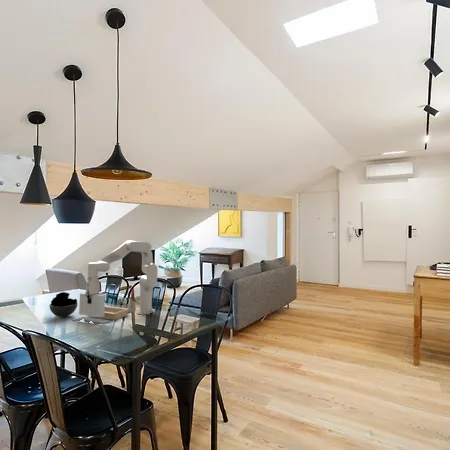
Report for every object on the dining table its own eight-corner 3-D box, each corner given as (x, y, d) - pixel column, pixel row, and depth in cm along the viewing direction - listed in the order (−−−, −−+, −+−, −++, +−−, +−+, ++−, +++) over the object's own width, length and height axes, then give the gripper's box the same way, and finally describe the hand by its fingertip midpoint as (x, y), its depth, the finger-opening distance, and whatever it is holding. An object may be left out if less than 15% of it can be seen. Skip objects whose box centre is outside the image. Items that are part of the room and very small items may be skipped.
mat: (111, 321, 253) (111, 320, 253) (101, 325, 243) (101, 324, 243) (83, 317, 263) (83, 316, 263) (72, 320, 253) (72, 320, 253)
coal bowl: (71, 312, 278) (72, 289, 279) (81, 317, 264) (81, 293, 264) (45, 316, 264) (46, 292, 265) (54, 321, 250) (54, 296, 250)
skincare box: (105, 316, 251) (105, 294, 251) (99, 317, 246) (100, 296, 246) (84, 312, 260) (84, 292, 260) (78, 314, 255) (79, 293, 255)
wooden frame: (128, 314, 274) (129, 308, 274) (113, 320, 256) (114, 313, 257) (102, 311, 283) (102, 305, 283) (86, 316, 266) (86, 310, 266)
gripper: (88, 280, 244) (87, 305, 244) (104, 277, 260) (104, 301, 260) (80, 279, 247) (79, 304, 247) (97, 277, 263) (96, 300, 263)
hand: (92, 302), depth 253 cm, fingers closed on skincare box, 5 cm apart
